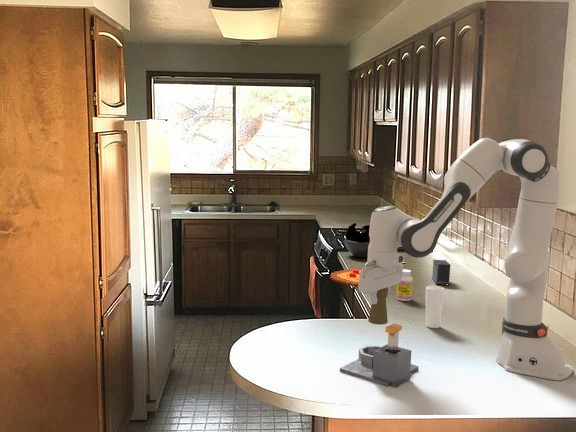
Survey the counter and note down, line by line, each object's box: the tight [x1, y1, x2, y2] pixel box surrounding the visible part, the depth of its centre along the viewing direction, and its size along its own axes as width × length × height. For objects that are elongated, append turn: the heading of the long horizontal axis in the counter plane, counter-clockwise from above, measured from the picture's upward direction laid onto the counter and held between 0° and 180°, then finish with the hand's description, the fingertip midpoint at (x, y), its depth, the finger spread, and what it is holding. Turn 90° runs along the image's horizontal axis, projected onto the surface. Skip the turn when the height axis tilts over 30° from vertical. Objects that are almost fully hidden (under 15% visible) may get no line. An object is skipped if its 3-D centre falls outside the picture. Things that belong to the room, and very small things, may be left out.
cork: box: [368, 288, 389, 326], centre depth 196 cm, size 6×6×11 cm
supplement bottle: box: [395, 268, 414, 302], centre depth 273 cm, size 7×7×13 cm
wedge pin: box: [385, 323, 403, 354], centre depth 184 cm, size 3×5×9 cm, turn 140°
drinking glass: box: [424, 285, 445, 329], centre depth 236 cm, size 7×7×15 cm
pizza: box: [330, 268, 362, 288], centre depth 309 cm, size 32×32×3 cm
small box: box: [431, 259, 451, 285], centre depth 304 cm, size 11×6×10 cm, turn 0°
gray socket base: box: [339, 343, 419, 388], centre depth 192 cm, size 20×18×9 cm
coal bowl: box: [344, 222, 370, 258], centre depth 360 cm, size 20×20×19 cm
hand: (379, 301), depth 196 cm, fingers closed on cork, 4 cm apart
